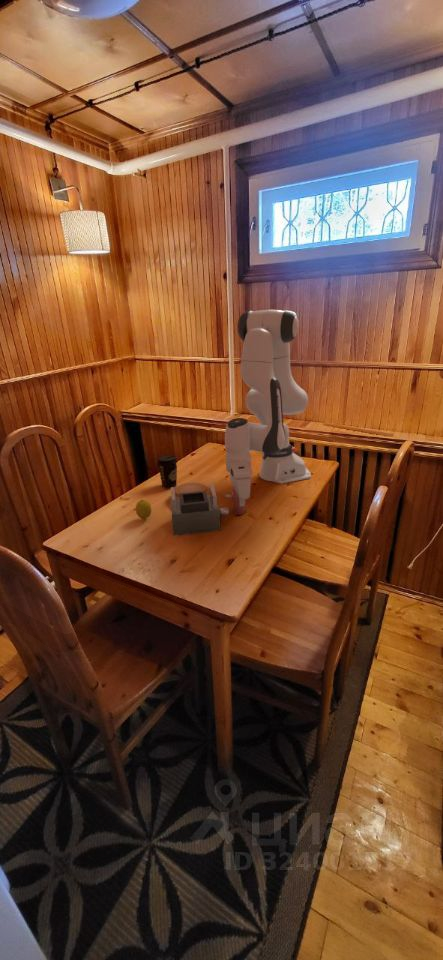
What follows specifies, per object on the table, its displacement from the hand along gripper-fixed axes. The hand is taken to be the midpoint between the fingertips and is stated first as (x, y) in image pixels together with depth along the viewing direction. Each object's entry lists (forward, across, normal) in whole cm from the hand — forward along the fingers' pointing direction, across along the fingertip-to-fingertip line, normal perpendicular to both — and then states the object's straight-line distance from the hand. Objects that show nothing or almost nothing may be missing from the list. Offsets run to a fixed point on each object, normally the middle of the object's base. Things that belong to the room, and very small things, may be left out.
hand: (239, 499), depth 150 cm
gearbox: (+5, +6, -15) cm, 17 cm away
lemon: (+5, -2, -35) cm, 35 cm away
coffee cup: (+5, -30, -25) cm, 40 cm away
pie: (+5, -15, -17) cm, 23 cm away
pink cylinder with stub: (+5, 0, -1) cm, 5 cm away
